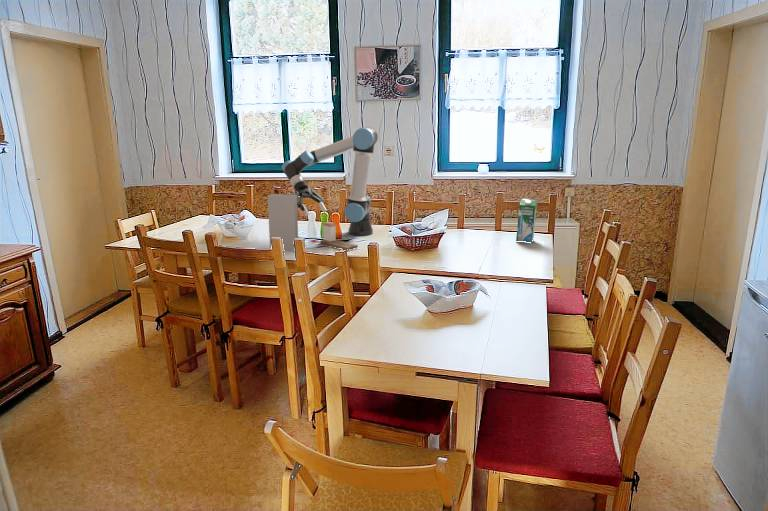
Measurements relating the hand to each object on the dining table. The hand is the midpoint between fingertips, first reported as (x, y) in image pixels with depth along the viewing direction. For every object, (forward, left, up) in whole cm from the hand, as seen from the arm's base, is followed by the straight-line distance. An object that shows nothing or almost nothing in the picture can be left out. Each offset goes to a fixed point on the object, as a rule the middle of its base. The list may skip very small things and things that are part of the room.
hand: (316, 213), depth 293 cm
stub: (0, +10, -14) cm, 17 cm away
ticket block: (0, +18, -16) cm, 24 cm away
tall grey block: (+26, +2, -16) cm, 31 cm away
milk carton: (-86, +88, -16) cm, 125 cm away
